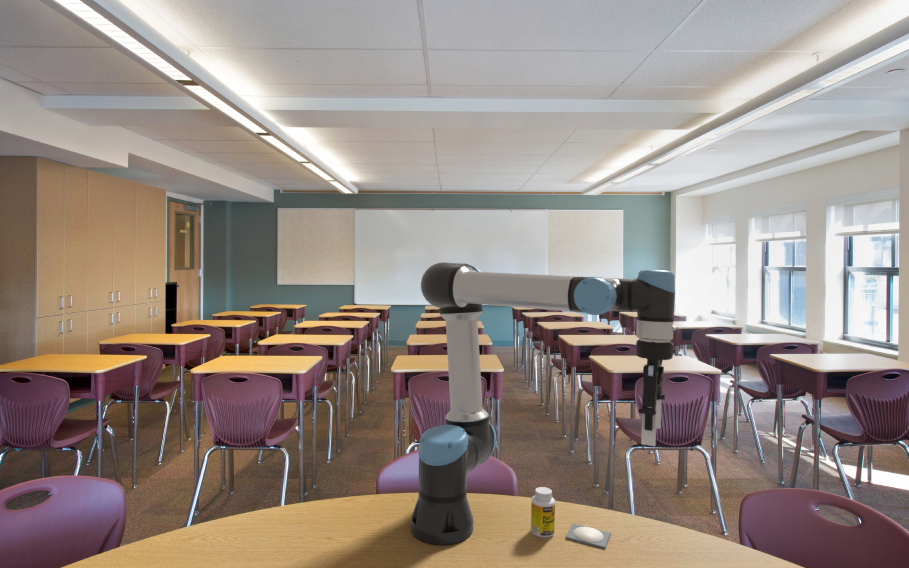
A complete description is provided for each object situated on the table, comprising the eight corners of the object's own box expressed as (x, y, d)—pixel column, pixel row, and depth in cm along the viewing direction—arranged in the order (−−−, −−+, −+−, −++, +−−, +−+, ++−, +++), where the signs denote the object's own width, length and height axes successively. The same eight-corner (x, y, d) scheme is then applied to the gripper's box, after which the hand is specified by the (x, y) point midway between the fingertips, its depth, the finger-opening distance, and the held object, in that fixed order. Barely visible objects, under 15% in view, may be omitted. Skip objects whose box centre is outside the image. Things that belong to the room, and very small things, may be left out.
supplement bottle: (542, 541, 111) (543, 497, 111) (526, 530, 116) (526, 488, 116) (559, 534, 114) (560, 492, 114) (543, 524, 119) (543, 483, 119)
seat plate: (565, 538, 112) (565, 536, 112) (572, 525, 119) (572, 522, 119) (605, 549, 108) (605, 546, 108) (610, 534, 114) (610, 532, 114)
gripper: (669, 348, 93) (665, 456, 94) (676, 335, 115) (673, 423, 116) (628, 344, 97) (625, 449, 97) (642, 333, 119) (640, 418, 119)
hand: (651, 435), depth 106 cm, fingers open, 13 cm apart
